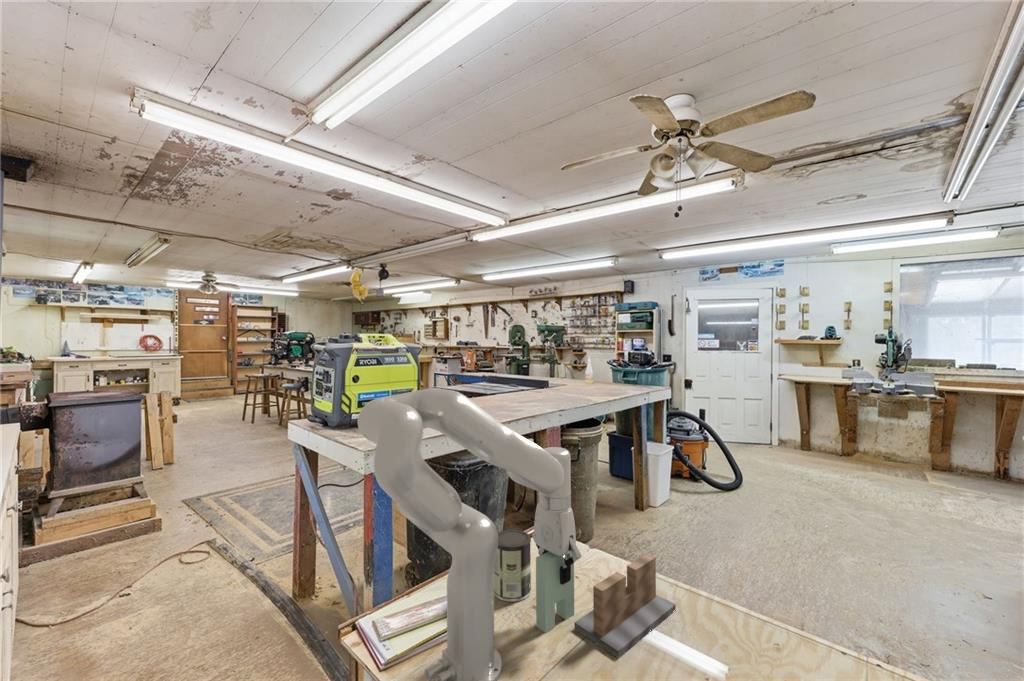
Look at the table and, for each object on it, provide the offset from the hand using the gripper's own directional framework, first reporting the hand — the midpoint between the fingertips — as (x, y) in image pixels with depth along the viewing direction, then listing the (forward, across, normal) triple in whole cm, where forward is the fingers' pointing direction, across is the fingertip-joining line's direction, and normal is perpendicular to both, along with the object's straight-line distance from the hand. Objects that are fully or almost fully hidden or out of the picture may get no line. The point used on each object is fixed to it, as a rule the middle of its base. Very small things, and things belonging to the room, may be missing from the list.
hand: (555, 575), depth 99 cm
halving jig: (+11, +11, +13) cm, 20 cm away
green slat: (+11, 0, 0) cm, 11 cm away
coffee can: (+11, -16, 0) cm, 19 cm away
